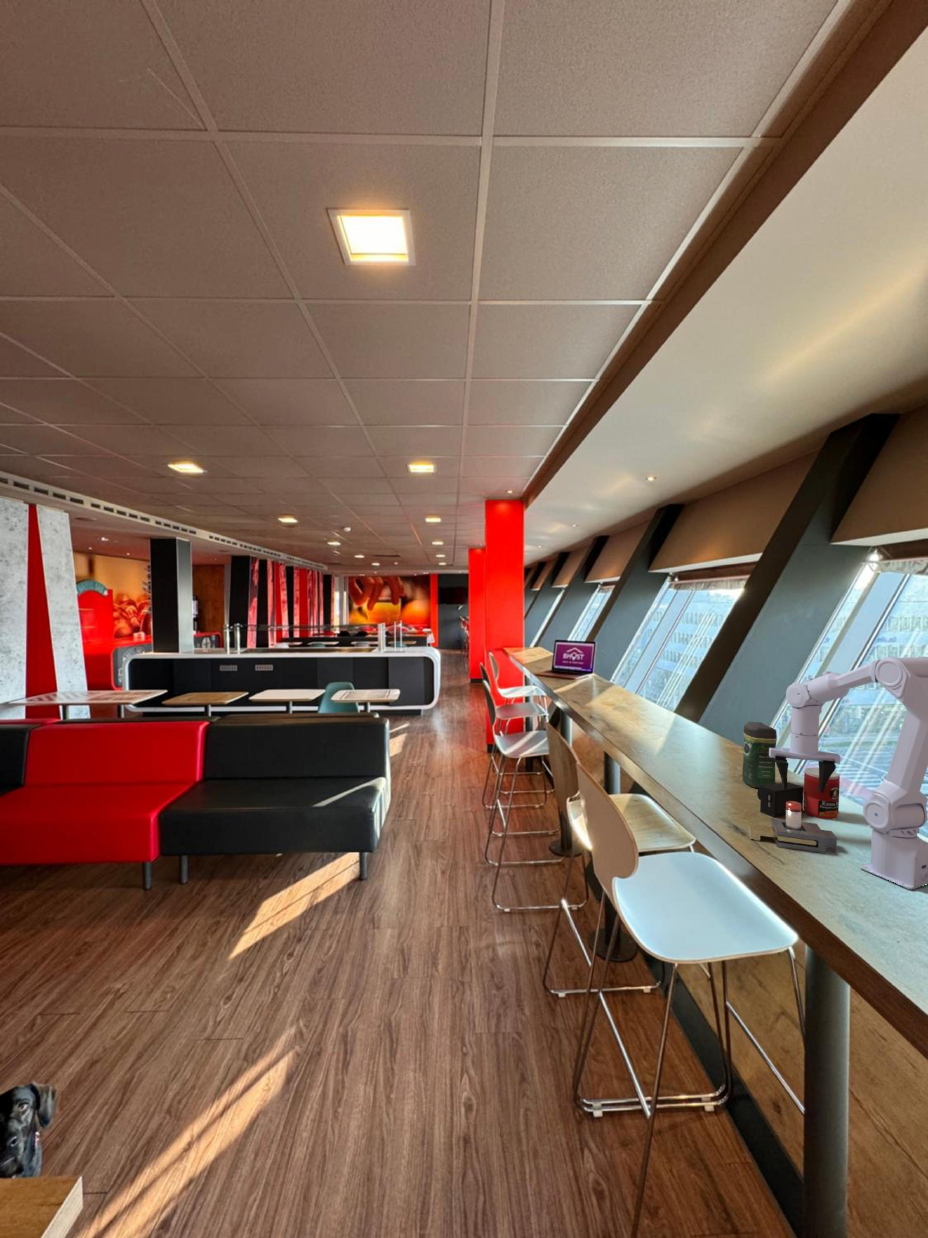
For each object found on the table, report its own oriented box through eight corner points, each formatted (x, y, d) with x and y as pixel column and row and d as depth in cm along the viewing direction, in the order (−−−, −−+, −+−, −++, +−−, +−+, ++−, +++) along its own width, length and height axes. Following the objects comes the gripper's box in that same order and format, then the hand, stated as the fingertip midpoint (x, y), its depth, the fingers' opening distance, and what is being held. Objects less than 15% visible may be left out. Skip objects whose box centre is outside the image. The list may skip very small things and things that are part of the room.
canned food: (822, 821, 141) (823, 777, 141) (795, 809, 149) (797, 768, 149) (846, 818, 143) (847, 775, 143) (818, 807, 151) (820, 766, 151)
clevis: (828, 840, 130) (829, 825, 129) (839, 855, 122) (839, 839, 122) (746, 830, 135) (747, 815, 135) (751, 843, 127) (752, 827, 127)
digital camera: (784, 806, 152) (785, 780, 152) (802, 813, 147) (803, 786, 147) (755, 810, 148) (756, 784, 148) (774, 818, 143) (774, 790, 143)
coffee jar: (779, 790, 164) (781, 727, 164) (751, 789, 165) (753, 726, 164) (765, 780, 174) (767, 720, 173) (738, 779, 175) (740, 719, 174)
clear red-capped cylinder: (804, 844, 127) (804, 804, 127) (794, 846, 126) (795, 806, 126) (791, 839, 130) (792, 800, 130) (782, 841, 129) (782, 802, 129)
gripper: (834, 732, 136) (832, 788, 136) (767, 727, 140) (765, 781, 141) (844, 739, 129) (841, 797, 130) (772, 733, 134) (771, 790, 134)
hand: (802, 789), depth 135 cm, fingers open, 7 cm apart
